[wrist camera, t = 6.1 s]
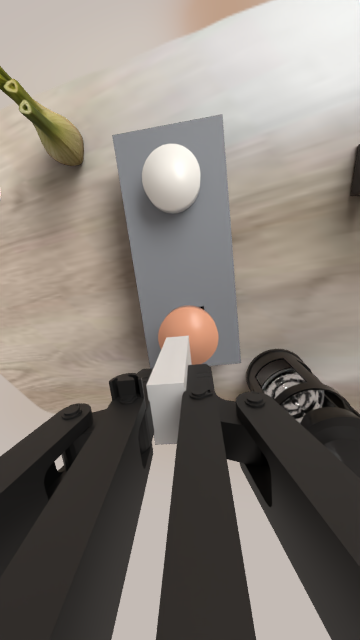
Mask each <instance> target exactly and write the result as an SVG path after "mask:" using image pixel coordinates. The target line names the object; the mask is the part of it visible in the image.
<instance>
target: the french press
mask: <svg viewBox="0 0 360 640" xmlns="http://www.w3.org/2000/svg"><path fill="white" fill-rule="evenodd" d="M280 359H284V360H285V361H286V362H287V363H288V364H289V365H290V366H291V367H292V368H286V369H283V370H280V371H278V372H276V373H274V374H272V375H271V376H270V377H269V378H268V379H267V380H266V381H265V382H264V384H263V386H262V387H261V386H260V384H259V382H258V380H257V378H256V376H257V374H258V373H259V371H260V370H261V369H262V368H263V367H264V366H266V365H267V364H269V363H271V362H273V361H276V360H280ZM247 384H248V386H249V389H250V390H251V391H255V392H261V393H264V394H267V395H268V396H270V397H272V398H273V399H274V400H275V401H276V402H277V403H278V404H279V405H280V406H281V407H283V408H284V409H285V410H286V411H287V412H288V413H289V414H290V415H291V416H292V417H293V418H295V419H296V420H297V421H298V422H299V423H300V424H301V425H302V426H303V427H304V428H305V429H306V430H308V431H309V432H310V433H311V434H312V435H313V436H314V437H315V438H316V439H317V440H318V441H320V442H321V443H322V444H323V445H324V446H325V447H326V448H327V449H328V450H329V451H330V452H331V453H333V454H334V455H335V456H336V457H337V458H338V459H339V460H340V461H341V462H342V463H343V464H345V465H346V466H347V467H348V468H349V469H350V470H351V471H352V472H353V473H354V474H355V475H356V476H358V477H359V478H360V414H359V413H358V412H357V411H356V410H354V409H353V408H352V407H351V406H350V404H349V403H348V402H347V401H346V399H345V398H344V397H342V396H341V395H340V394H339V393H338V392H337V391H335V390H334V389H332V388H331V387H329V386H327V385H324V384H323V383H322V382H320V380H319V379H318V378H317V377H316V376H315V375H313V374H312V372H311V370H310V369H309V368H308V367H307V366H306V365H305V364H304V363H303V361H302V360H301V359H300V358H299V357H298V356H297V355H296V354H294V353H293V352H290V351H288V350H284V349H272V350H268V351H265V352H263V353H261V354H259V355H258V356H257V357H256V358H254V360H253V361H252V362H251V364H250V365H249V367H248V371H247ZM321 407H322V408H321Z"/></svg>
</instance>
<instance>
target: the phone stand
mask: <svg viewBox="0 0 360 640" xmlns="http://www.w3.org/2000/svg"><path fill="white" fill-rule="evenodd" d="M351 196H360V144H359V145H358V152H357V158H356V164H355V171H354V177H353V184H352V190H351Z"/></svg>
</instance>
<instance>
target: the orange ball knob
mask: <svg viewBox="0 0 360 640" xmlns="http://www.w3.org/2000/svg"><path fill="white" fill-rule="evenodd" d="M178 336H189V344H190V354H191V363H192V365H195V364H202V363H204V362H206V361H207V360H208V359H209V358H210V357H211V356H212V355H213V354H214V352H215V351H216V348H217V345H218V339H219V338H218V331H217V327H216V325H215V322H214V320H213V318H212V317H211V316H210V314H209V313H207V312H206V311H205V310H203V309H202V308H201V307H197V306H190V305H187V306H181V307H178V308H176V309H174V310H172V311H171V312H170V313H169V314H168V315H167V316H166V318H165V319H164V321H163V322H162V324H161V326H160V329H159V333H158V342H159V346H160V348H161V349H162V347H163V345H164V342H165V340H166V338H167V337H178Z"/></svg>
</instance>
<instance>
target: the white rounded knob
mask: <svg viewBox="0 0 360 640" xmlns="http://www.w3.org/2000/svg"><path fill="white" fill-rule="evenodd" d="M142 183H143V187H144V190H145V192H146V194H147V196H148V197H149V199H150V200H151V202H152V203H153V205H154V206H155V207H156V208H158V209H159V210H161V211H163V212H166V213H171V214H174V213H180V212H183V211H185V210H186V209H188V208H189V207H190V206H191V205H192V204H193V203H194V202H195V200H196V198H197V196H198V193H199V189H200V167H199V164H198V162H197V159H196V158H195V156H194V155H193V153H192V152H191V151H190V150H188V149H187V148H185V147H184V146H181V145H179V144H165V145H162V146H160V147H158V148H156V149H155V150H154V151H153V152H152V153H151V154H150V155H149V156H148V158H147V159H146V161H145V164H144V166H143V171H142Z"/></svg>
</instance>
